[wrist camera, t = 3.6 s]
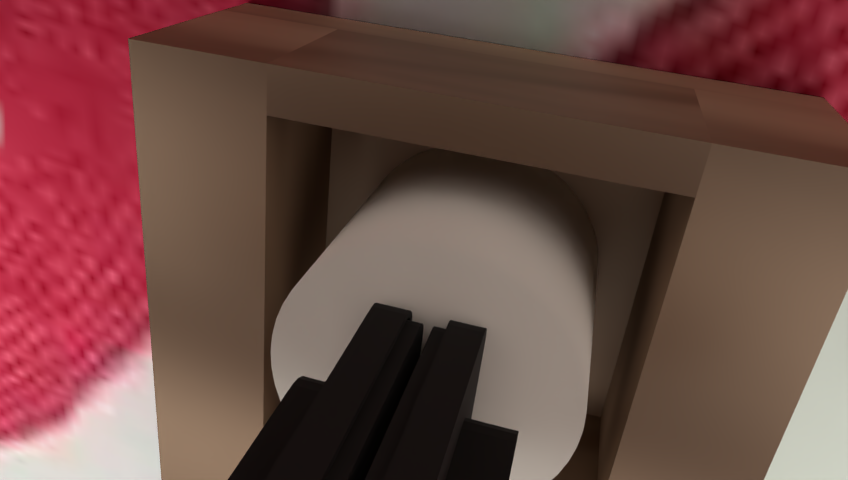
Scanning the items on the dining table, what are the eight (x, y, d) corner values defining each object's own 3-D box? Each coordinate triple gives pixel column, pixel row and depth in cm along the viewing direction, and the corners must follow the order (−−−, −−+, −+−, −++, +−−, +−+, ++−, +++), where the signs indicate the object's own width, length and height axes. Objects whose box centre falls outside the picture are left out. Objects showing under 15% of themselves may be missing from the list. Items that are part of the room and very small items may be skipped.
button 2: (371, 121, 14) (273, 210, 10) (624, 169, 13) (622, 286, 9) (354, 328, 16) (268, 467, 12) (570, 380, 15) (551, 546, 11)
